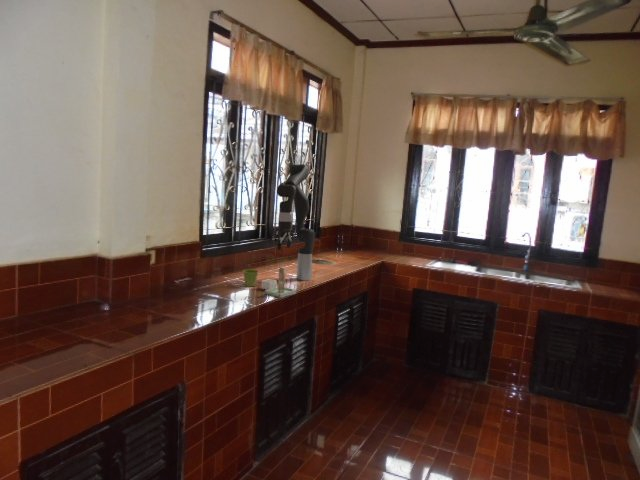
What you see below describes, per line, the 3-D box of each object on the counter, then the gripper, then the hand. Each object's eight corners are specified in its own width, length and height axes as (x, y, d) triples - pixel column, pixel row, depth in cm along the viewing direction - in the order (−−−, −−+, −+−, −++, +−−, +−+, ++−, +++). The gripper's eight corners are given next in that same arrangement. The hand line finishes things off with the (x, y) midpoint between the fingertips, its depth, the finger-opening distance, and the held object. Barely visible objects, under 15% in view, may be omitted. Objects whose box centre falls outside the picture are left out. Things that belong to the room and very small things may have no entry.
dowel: (280, 291, 264) (281, 267, 262) (285, 292, 262) (286, 268, 261) (276, 292, 261) (278, 267, 260) (281, 293, 260) (282, 268, 258)
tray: (281, 289, 271) (281, 286, 271) (296, 293, 265) (296, 289, 265) (264, 293, 259) (264, 290, 259) (279, 297, 253) (280, 294, 252)
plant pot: (259, 284, 281) (260, 270, 279) (256, 287, 271) (256, 273, 270) (244, 283, 281) (245, 269, 280) (240, 286, 272) (241, 271, 271)
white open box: (268, 287, 275) (268, 278, 274) (276, 289, 272) (276, 280, 271) (261, 288, 270) (261, 280, 269) (269, 290, 267) (270, 282, 266)
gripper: (287, 218, 268) (286, 246, 271) (271, 220, 256) (270, 249, 259) (298, 220, 264) (296, 248, 267) (282, 221, 252) (281, 250, 255)
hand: (283, 248), depth 263 cm, fingers open, 8 cm apart
